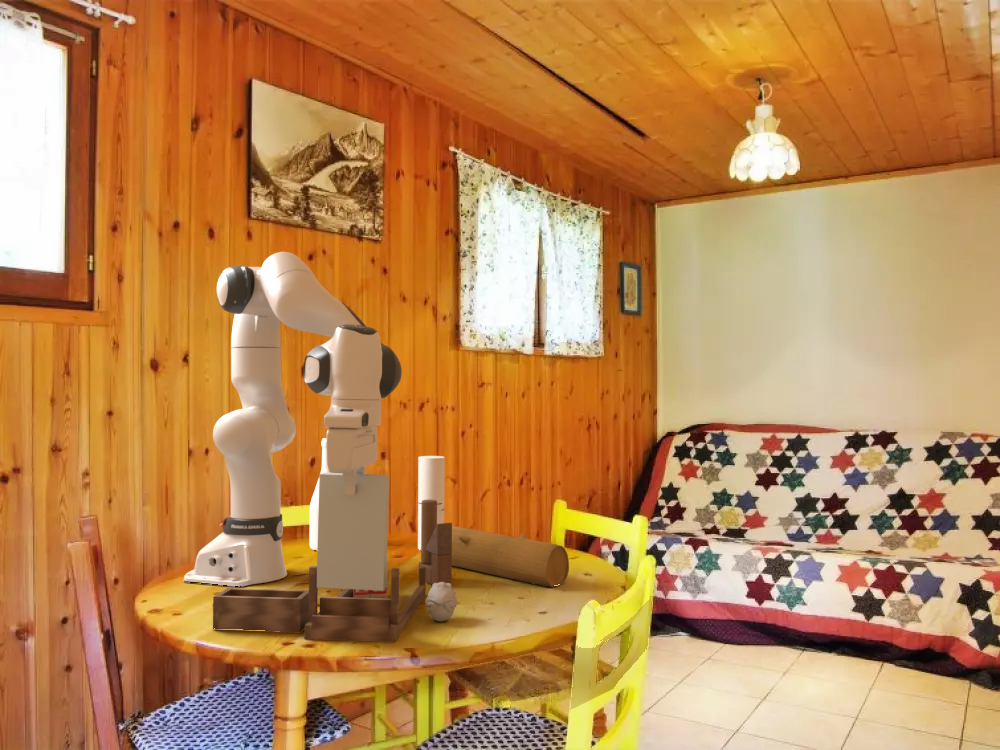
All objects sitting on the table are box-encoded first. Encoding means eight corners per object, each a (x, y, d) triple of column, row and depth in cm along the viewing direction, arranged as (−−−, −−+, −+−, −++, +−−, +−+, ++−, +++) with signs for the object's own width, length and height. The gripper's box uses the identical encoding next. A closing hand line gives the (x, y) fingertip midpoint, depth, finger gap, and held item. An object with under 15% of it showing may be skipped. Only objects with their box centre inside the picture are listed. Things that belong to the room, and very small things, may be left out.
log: (422, 564, 191) (422, 524, 191) (448, 558, 198) (449, 519, 199) (543, 592, 166) (544, 546, 166) (569, 583, 173) (569, 539, 173)
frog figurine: (458, 615, 148) (458, 578, 148) (455, 626, 141) (456, 588, 141) (427, 614, 148) (427, 578, 148) (422, 625, 141) (423, 588, 141)
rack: (304, 639, 134) (305, 570, 134) (351, 593, 163) (352, 537, 163) (394, 642, 132) (395, 572, 132) (425, 595, 162) (426, 538, 162)
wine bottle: (349, 545, 212) (350, 437, 213) (338, 552, 203) (339, 439, 203) (316, 544, 213) (317, 437, 214) (304, 551, 204) (305, 439, 204)
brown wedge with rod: (437, 588, 168) (437, 506, 168) (417, 577, 177) (418, 499, 177) (452, 586, 169) (452, 505, 170) (432, 575, 179) (432, 498, 179)
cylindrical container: (412, 548, 209) (413, 456, 209) (433, 544, 214) (433, 455, 214) (428, 552, 204) (429, 458, 204) (449, 549, 208) (450, 457, 209)
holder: (212, 630, 138) (213, 596, 138) (227, 620, 144) (227, 588, 144) (300, 632, 137) (300, 599, 137) (311, 622, 143) (311, 590, 143)
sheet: (316, 587, 135) (319, 474, 135) (320, 583, 137) (323, 472, 138) (383, 590, 134) (386, 476, 134) (386, 587, 136) (389, 474, 137)
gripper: (354, 412, 147) (352, 484, 147) (320, 417, 126) (318, 501, 126) (386, 413, 146) (385, 486, 146) (357, 418, 126) (355, 502, 126)
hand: (353, 493), depth 136 cm, fingers closed on sheet, 2 cm apart
